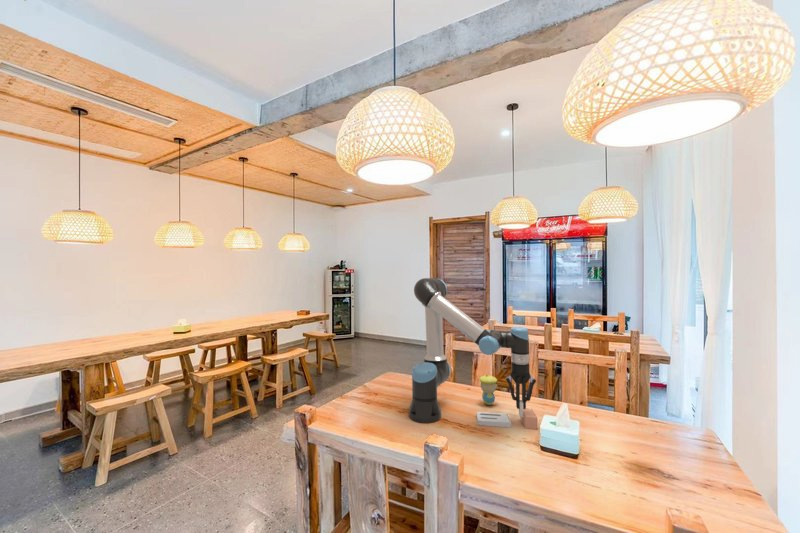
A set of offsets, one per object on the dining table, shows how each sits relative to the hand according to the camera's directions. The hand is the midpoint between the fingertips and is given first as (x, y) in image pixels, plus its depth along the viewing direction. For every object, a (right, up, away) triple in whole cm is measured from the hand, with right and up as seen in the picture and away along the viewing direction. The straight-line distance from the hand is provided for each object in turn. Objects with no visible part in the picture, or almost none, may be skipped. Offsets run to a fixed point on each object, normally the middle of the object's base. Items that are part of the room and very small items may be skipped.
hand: (521, 415), depth 141 cm
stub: (+3, -3, -1) cm, 5 cm away
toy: (-9, -4, +21) cm, 23 cm away
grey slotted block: (-12, -4, +2) cm, 13 cm away
